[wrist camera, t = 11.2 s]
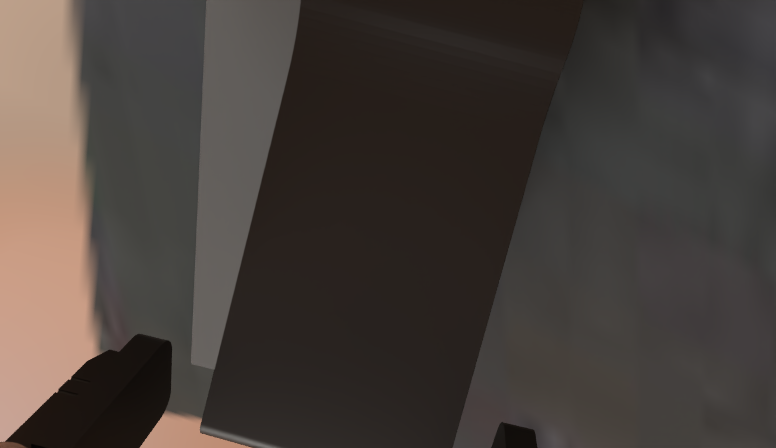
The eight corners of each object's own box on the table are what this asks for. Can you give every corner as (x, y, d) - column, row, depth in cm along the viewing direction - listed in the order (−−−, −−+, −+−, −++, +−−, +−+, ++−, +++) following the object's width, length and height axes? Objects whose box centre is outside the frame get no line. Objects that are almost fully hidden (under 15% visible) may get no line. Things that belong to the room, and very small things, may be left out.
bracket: (567, -6, 17) (570, -6, 16) (445, 417, 24) (444, 425, 23) (216, -75, 18) (209, -76, 17) (196, 356, 24) (190, 364, 24)
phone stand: (299, 271, 22) (363, -67, 17) (448, 312, 22) (555, -18, 17) (196, 439, 14) (264, -118, 9) (434, 507, 14) (635, -26, 9)
